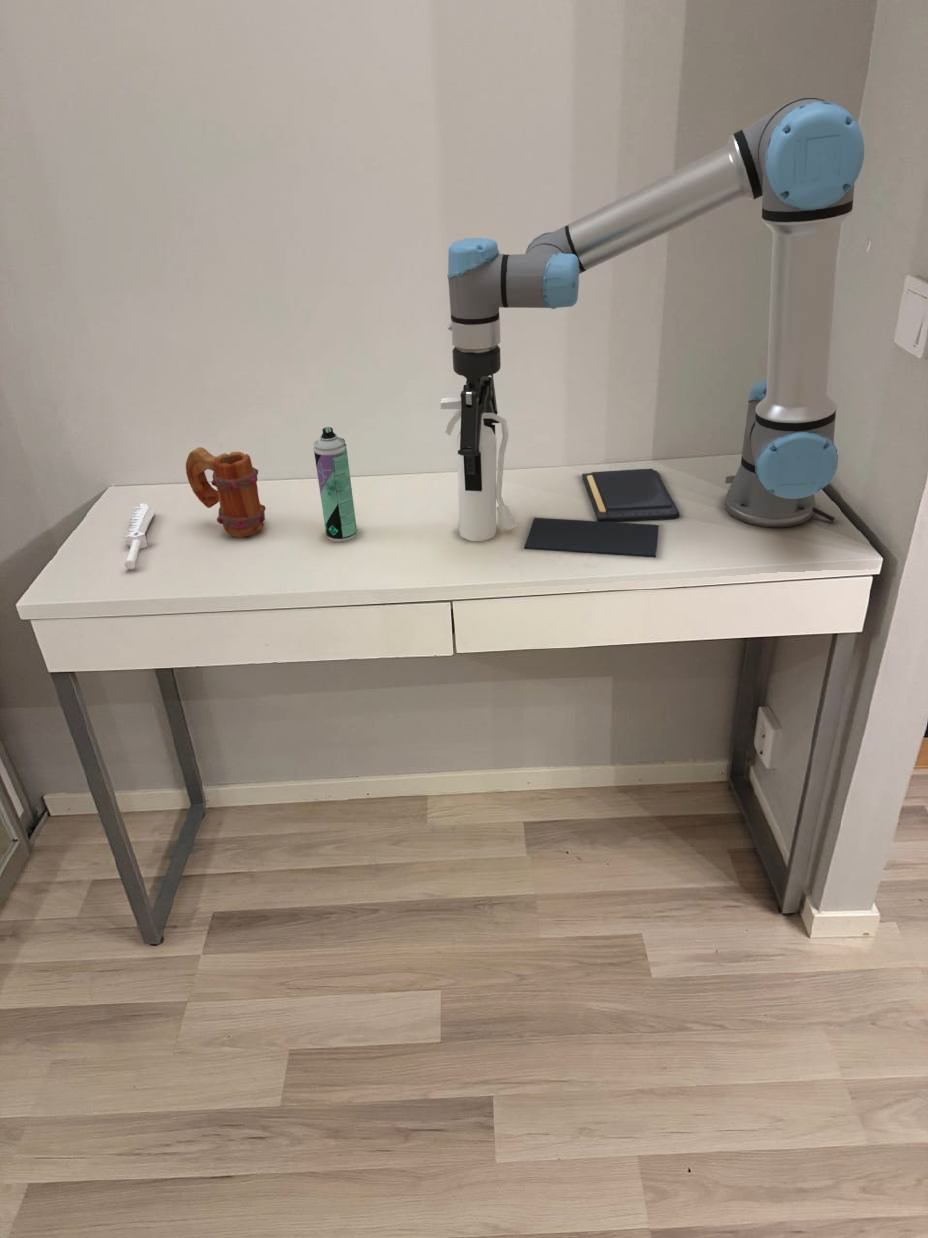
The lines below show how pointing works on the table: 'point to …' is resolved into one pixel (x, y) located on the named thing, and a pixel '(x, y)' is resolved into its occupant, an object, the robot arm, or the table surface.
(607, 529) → the mat
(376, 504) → the table surface
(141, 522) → the toy saw sword
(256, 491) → the mug
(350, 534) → the spray can
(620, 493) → the wallet
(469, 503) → the fire extinguisher
